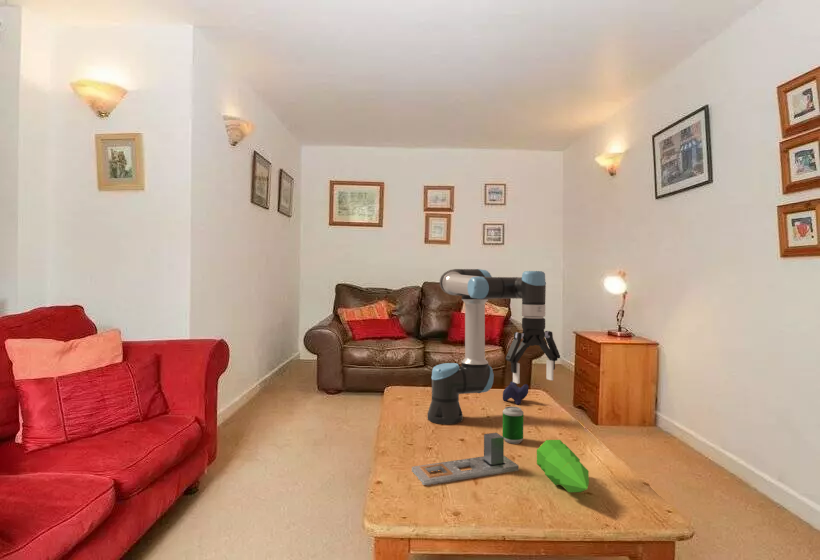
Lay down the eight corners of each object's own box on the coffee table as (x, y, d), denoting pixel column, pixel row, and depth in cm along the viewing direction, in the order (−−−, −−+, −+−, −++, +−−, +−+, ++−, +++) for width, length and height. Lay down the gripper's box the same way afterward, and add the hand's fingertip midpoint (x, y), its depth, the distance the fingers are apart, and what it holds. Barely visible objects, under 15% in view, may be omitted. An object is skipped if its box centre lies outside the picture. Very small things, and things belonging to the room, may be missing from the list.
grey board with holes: (411, 471, 137) (411, 466, 137) (501, 458, 148) (501, 453, 148) (423, 485, 127) (423, 479, 127) (518, 470, 138) (518, 464, 138)
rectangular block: (483, 465, 142) (484, 434, 142) (495, 463, 144) (496, 432, 144) (491, 470, 138) (491, 438, 138) (503, 468, 140) (503, 437, 140)
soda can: (523, 445, 160) (524, 412, 160) (502, 443, 161) (502, 410, 162) (522, 438, 167) (523, 406, 167) (502, 436, 169) (502, 405, 169)
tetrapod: (498, 397, 223) (501, 377, 221) (521, 396, 225) (524, 376, 222) (506, 409, 213) (508, 388, 210) (530, 408, 214) (532, 387, 211)
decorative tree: (554, 426, 144) (598, 460, 114) (568, 459, 143) (615, 501, 113) (522, 440, 143) (558, 477, 113) (536, 473, 143) (575, 519, 113)
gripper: (508, 319, 139) (508, 386, 139) (571, 317, 148) (571, 380, 148) (495, 317, 146) (494, 381, 146) (556, 315, 155) (555, 376, 155)
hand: (533, 381), depth 147 cm, fingers open, 13 cm apart
